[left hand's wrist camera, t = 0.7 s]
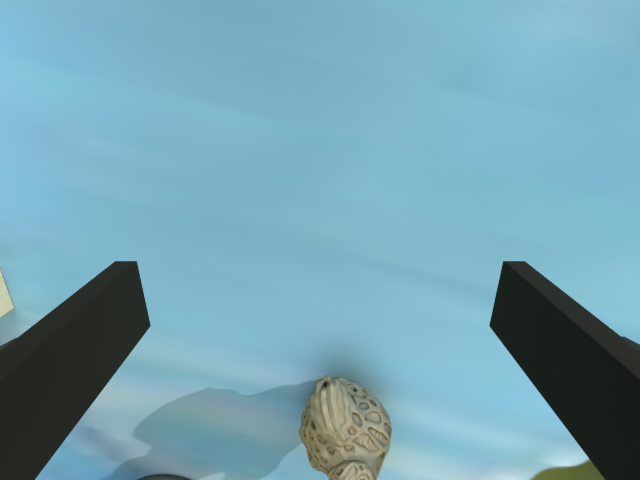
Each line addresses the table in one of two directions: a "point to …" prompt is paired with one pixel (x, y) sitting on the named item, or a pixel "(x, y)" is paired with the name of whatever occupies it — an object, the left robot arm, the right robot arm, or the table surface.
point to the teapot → (345, 430)
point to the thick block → (4, 297)
